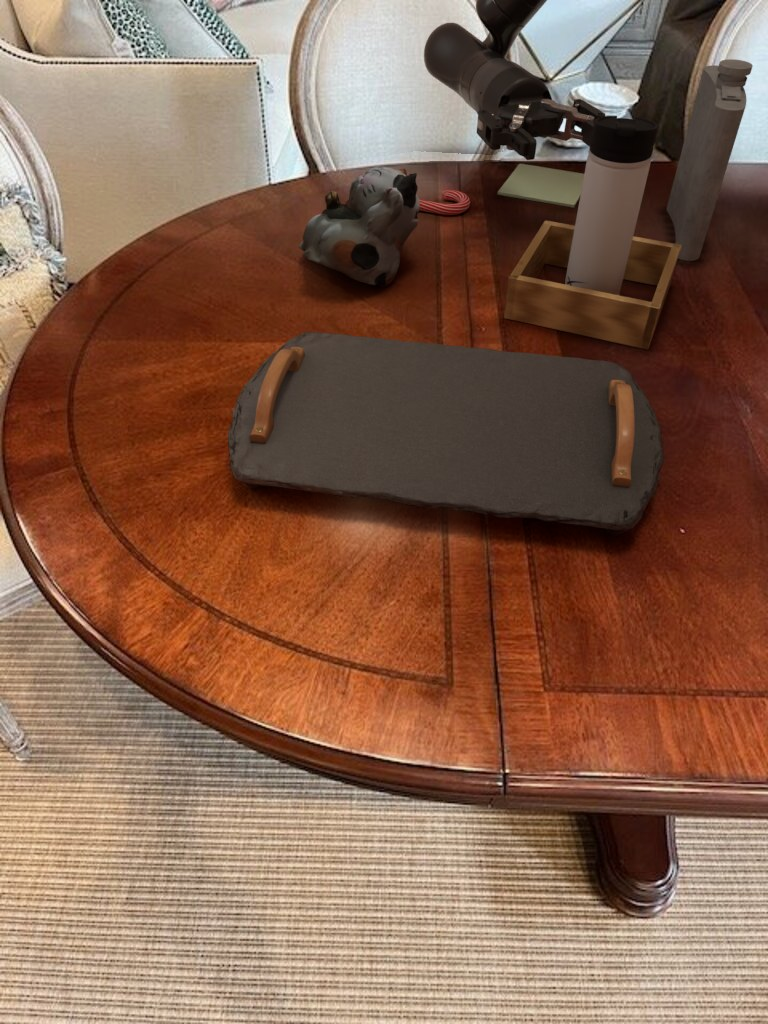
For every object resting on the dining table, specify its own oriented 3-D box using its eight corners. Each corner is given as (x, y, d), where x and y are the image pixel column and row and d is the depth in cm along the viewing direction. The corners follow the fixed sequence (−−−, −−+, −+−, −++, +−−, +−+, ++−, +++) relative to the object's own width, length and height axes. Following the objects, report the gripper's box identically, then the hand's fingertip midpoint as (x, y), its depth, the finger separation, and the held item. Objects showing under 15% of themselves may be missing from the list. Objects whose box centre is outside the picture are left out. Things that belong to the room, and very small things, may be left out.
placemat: (591, 177, 115) (592, 175, 114) (573, 207, 107) (574, 205, 107) (519, 165, 118) (519, 163, 117) (497, 194, 111) (497, 191, 110)
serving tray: (648, 388, 78) (664, 334, 74) (664, 560, 62) (686, 504, 58) (275, 349, 83) (269, 297, 79) (201, 499, 67) (188, 444, 63)
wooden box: (670, 284, 93) (681, 244, 89) (648, 350, 83) (659, 308, 80) (539, 258, 97) (545, 220, 94) (503, 318, 88) (508, 277, 84)
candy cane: (376, 186, 113) (376, 175, 112) (475, 201, 109) (476, 191, 108) (359, 202, 109) (359, 192, 108) (461, 219, 105) (462, 208, 104)
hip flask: (665, 205, 108) (708, 41, 94) (696, 207, 108) (743, 43, 93) (673, 259, 97) (723, 83, 83) (707, 262, 97) (763, 86, 82)
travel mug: (559, 312, 88) (593, 126, 74) (564, 283, 93) (596, 102, 79) (616, 319, 87) (661, 131, 73) (618, 289, 92) (660, 107, 78)
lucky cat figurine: (299, 242, 100) (340, 131, 94) (385, 280, 103) (431, 175, 97) (291, 265, 87) (338, 139, 81) (390, 308, 90) (442, 188, 84)
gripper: (457, 71, 94) (513, 117, 83) (564, 61, 97) (632, 104, 86) (453, 136, 99) (505, 188, 89) (555, 124, 102) (617, 172, 92)
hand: (567, 146), depth 87 cm, fingers open, 8 cm apart
